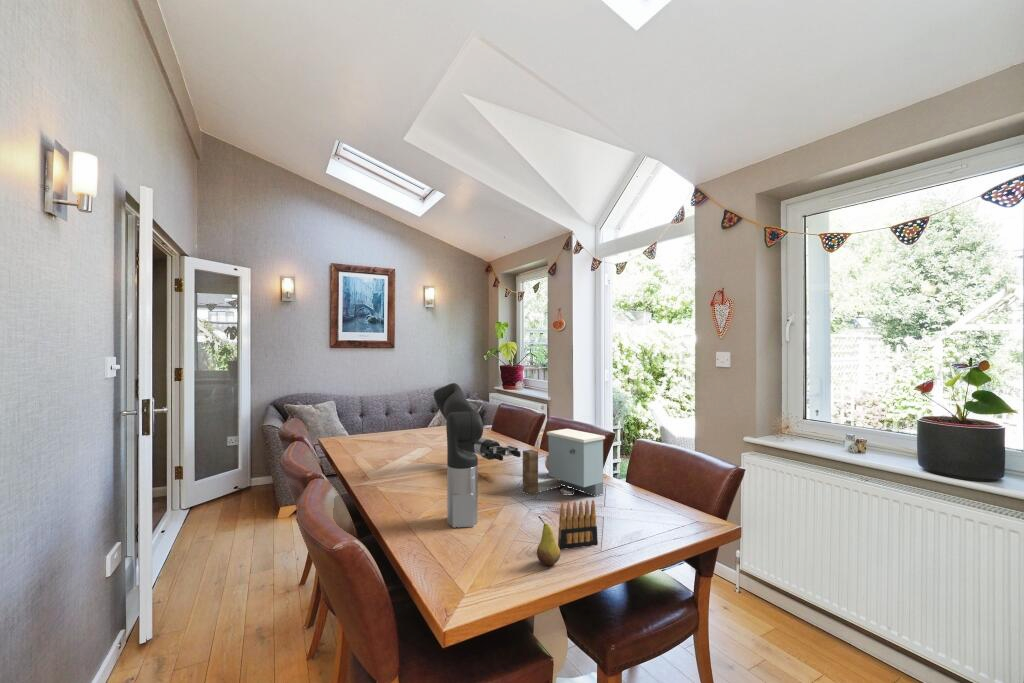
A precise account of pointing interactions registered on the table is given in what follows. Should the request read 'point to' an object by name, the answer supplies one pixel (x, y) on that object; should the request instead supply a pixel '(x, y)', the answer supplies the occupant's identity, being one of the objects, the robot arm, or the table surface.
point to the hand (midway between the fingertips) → (511, 456)
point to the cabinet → (577, 459)
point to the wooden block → (534, 474)
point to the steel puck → (567, 490)
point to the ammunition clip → (577, 526)
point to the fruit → (548, 547)
